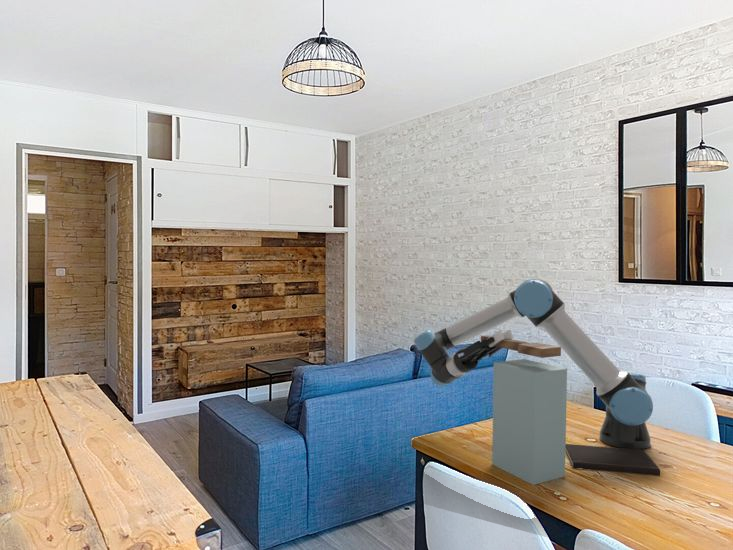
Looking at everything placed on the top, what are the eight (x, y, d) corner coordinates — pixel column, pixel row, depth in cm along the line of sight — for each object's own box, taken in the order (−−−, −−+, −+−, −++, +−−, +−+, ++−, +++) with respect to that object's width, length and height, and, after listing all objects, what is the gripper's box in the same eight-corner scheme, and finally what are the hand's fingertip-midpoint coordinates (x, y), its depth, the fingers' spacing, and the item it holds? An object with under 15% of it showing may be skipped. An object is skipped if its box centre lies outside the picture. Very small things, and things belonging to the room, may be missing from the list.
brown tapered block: (475, 343, 165) (475, 336, 165) (492, 342, 168) (492, 334, 168) (542, 357, 141) (542, 348, 141) (560, 355, 145) (561, 346, 145)
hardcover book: (564, 450, 169) (564, 443, 169) (643, 457, 164) (643, 449, 164) (572, 470, 153) (573, 462, 153) (660, 477, 148) (660, 469, 148)
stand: (492, 464, 155) (493, 362, 154) (522, 457, 161) (524, 359, 160) (533, 484, 141) (535, 372, 140) (564, 476, 147) (567, 368, 146)
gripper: (484, 370, 178) (530, 344, 160) (446, 375, 171) (490, 348, 153) (477, 349, 182) (521, 321, 163) (439, 353, 174) (481, 324, 156)
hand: (506, 334), depth 158 cm, fingers closed on brown tapered block, 3 cm apart
